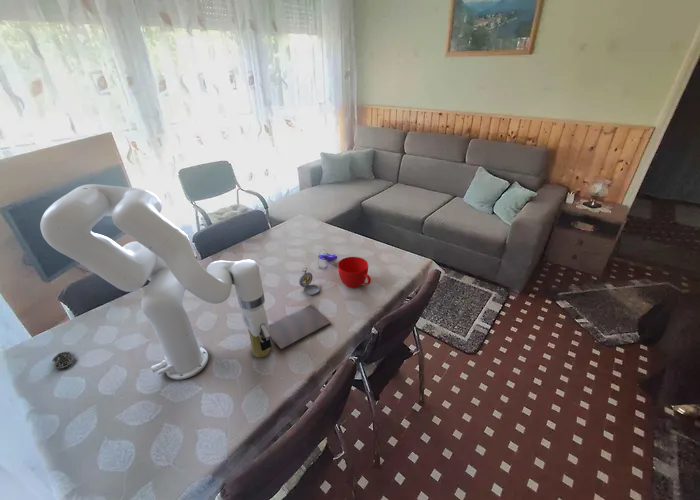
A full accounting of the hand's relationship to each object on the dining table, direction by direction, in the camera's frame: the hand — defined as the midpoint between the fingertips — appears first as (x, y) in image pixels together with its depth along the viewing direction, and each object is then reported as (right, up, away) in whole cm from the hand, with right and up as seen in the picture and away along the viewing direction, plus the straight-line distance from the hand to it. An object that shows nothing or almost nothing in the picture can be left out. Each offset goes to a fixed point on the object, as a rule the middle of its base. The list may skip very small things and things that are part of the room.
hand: (260, 339), depth 106 cm
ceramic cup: (+32, +14, +34) cm, 49 cm away
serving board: (+10, +1, +12) cm, 16 cm away
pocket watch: (+13, +12, +32) cm, 36 cm away
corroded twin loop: (-63, -7, -1) cm, 64 cm away
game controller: (+20, +22, +49) cm, 57 cm away
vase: (0, -4, +3) cm, 5 cm away
